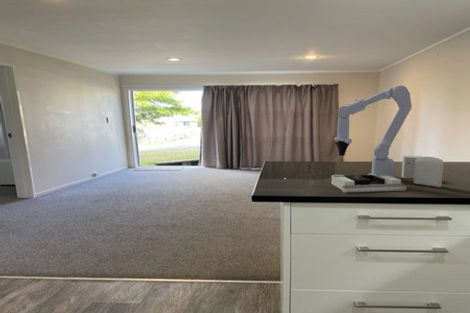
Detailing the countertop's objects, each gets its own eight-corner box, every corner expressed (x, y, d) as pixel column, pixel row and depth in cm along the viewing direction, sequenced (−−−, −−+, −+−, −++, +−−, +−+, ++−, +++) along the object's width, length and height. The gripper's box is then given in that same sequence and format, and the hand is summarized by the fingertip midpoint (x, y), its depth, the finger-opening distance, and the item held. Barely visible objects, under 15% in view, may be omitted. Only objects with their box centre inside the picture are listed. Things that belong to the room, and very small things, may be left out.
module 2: (382, 182, 122) (382, 172, 122) (400, 189, 111) (401, 178, 110) (373, 182, 122) (374, 172, 121) (391, 189, 110) (391, 179, 110)
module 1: (340, 183, 121) (340, 174, 120) (354, 190, 109) (354, 180, 108) (331, 183, 120) (331, 174, 120) (344, 191, 109) (345, 180, 108)
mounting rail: (402, 189, 111) (403, 183, 110) (406, 190, 109) (406, 184, 108) (342, 191, 109) (342, 185, 108) (344, 192, 107) (344, 186, 106)
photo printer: (411, 183, 120) (414, 156, 118) (414, 182, 122) (417, 155, 120) (439, 188, 112) (442, 158, 110) (442, 186, 114) (445, 157, 113)
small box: (419, 177, 132) (421, 155, 130) (422, 179, 127) (424, 157, 125) (401, 175, 135) (402, 155, 133) (403, 178, 130) (404, 156, 128)
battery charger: (356, 189, 112) (356, 180, 111) (344, 184, 121) (344, 175, 121) (384, 188, 113) (385, 179, 113) (370, 182, 123) (371, 174, 122)
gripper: (329, 129, 146) (328, 154, 148) (342, 130, 132) (341, 157, 134) (342, 129, 146) (340, 153, 148) (356, 130, 132) (354, 157, 134)
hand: (341, 155), depth 141 cm, fingers closed
